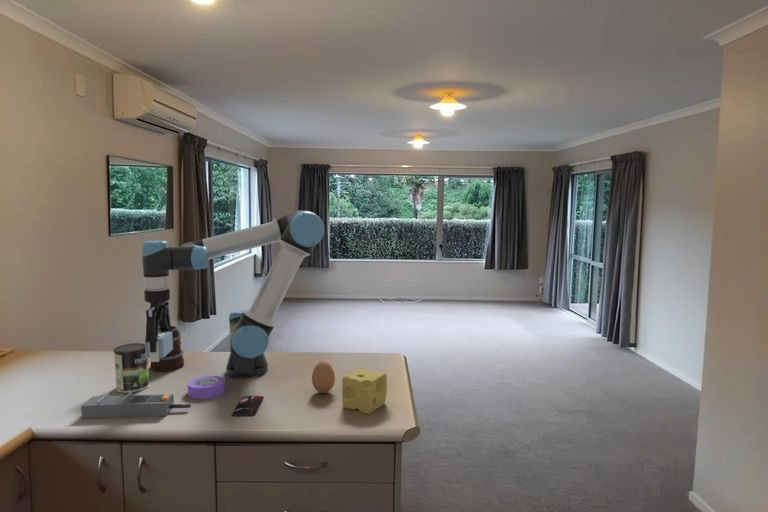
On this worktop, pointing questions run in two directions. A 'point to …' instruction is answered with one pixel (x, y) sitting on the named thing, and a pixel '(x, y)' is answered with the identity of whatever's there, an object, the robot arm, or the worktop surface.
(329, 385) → the egg
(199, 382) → the masking tape
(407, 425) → the worktop surface
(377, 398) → the cheese
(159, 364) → the mug
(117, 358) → the coffee can
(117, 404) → the power strip
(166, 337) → the block
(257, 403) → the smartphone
